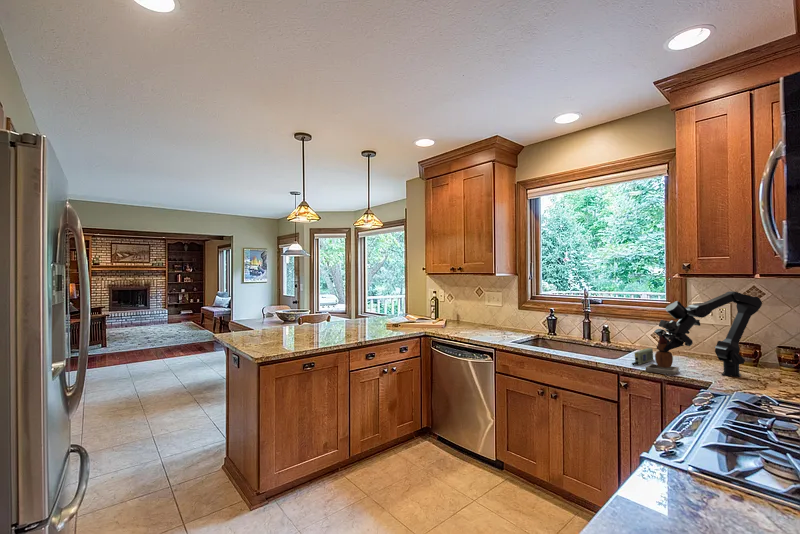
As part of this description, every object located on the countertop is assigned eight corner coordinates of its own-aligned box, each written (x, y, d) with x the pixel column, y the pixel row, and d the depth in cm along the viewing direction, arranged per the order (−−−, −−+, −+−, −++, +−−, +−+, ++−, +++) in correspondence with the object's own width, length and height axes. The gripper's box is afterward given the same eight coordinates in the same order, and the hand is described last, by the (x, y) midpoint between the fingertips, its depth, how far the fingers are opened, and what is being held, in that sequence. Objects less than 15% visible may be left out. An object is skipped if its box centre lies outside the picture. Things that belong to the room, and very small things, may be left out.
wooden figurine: (659, 368, 179) (658, 336, 179) (653, 365, 185) (652, 334, 185) (675, 368, 178) (674, 336, 178) (668, 365, 184) (667, 334, 184)
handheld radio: (654, 360, 216) (636, 367, 201) (648, 359, 219) (629, 366, 203) (653, 348, 217) (635, 354, 201) (647, 347, 219) (628, 353, 204)
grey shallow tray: (651, 367, 198) (651, 363, 198) (678, 371, 190) (678, 367, 190) (645, 371, 191) (645, 367, 191) (673, 375, 182) (673, 371, 182)
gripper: (657, 312, 191) (636, 335, 191) (684, 316, 173) (661, 341, 172) (674, 327, 191) (652, 350, 191) (703, 333, 172) (679, 358, 172)
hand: (660, 349), depth 181 cm, fingers closed on wooden figurine, 5 cm apart
